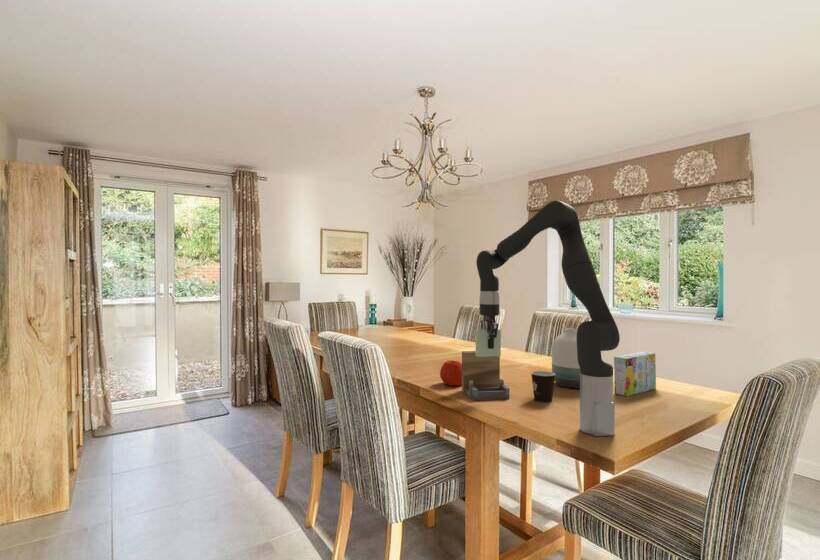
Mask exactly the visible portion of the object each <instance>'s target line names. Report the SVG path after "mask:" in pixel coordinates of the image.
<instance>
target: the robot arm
mask: <svg viewBox="0 0 820 560" xmlns="http://www.w3.org/2000/svg"><path fill="white" fill-rule="evenodd" d="M547 229H554V230H555V231H556V233H557V235H558V237H559V240H560V243H561V245H562V254H561V255H562V257H561V270H562V274H563V278H564V281H565V284H566V286H567V287H568V289H569V291H570V293H572V294H573V295H574V296H575V298H576V299H578V300H579V302H580V303H581V304H582V305H583V306H584V307H585V309H586V310H587V313H588V314H589V318H590V320H586V321H583V322H581V323H580V324H579V325H578V328H577V329H578V330H577V359H578V364H579V366H580V388H579V430H580V431H581V432H583V433H585V434H588V435H592V436H594V437H605V436H606V437H607V436H615V433H616V432H615V428H616V427H615V425H616V421H615V419H616V418H615V417H616V416H615V415H616V413H615V411H616V410H615V409H616V407H615V403H614V367H613V365H611V363H608V362H605V361H604V360H603V359H602V352H606V351H607V352H608V351H613V350H616V349H617V347H618V346H619V344H620V331H619V328H618V326H617V323H616V321H615V319H614V317H613V315H612V312H611V311H610V308H609V306H608V304H607V302H606V299H605V296H604V293H603V292H602V289H601V287H600V283H599V280H598V277H597V274H596V271H595V268H594V265H593V262H592V260H591V257H590V255H589V252H588V247H587V246H586V243H585V242H584V238H583V233H582V230H581V225H580V220H579V217H578V212H577V211H576V209H575V208H574V207H573V206H572V205H570V204H568V203H566V202H563V201H560V200H558V199H557V200H551V201H549V202H548V203H547V204H545V205H544V206H543V207H541V209H539V210H538V211H537V212H536V213H535V214H534V215H533V216H532V217H531V218H529V219H528V221H526V223H524V225H522V226H521V227H520V228H519V229H517V230H516V231H514V232H513V233H512V234H510V235H509V236H507V237H505V238H504V239H503V240H501V241H499V243H498V244H497V246H496V249H494V250H481V251H480V252H479V253H478V254H477V257H476V262H475V263H476V268H477V272H478V273H477V274H478V277H479V280H480V281H479V288H480V289H479V290H480V291H479V309H478V310H479V315H480V316H483V319H481V320H480V325H481V326H480V327H481V329H486V332H487V333H488V348H489V349H493V348H494V339H495V338H496V337H497V331H498V329H499V323H497V320H496V316H499V315H500V284H499V283H500V281H499V277H498V276H496V275H495V274H494V270H497V269H499V268H501V267H502V266H504V264H506V263H507V262H508V261H509V259H510V258H513V257H514V256H515V255H517V254H519V253H521V252H522V251H524V250H525V249H526V248H527V247H528V245H530V243H531V242H532V240H533V239H534V238H535V237H536V236H537V235H538V234H539V233H541V232H544V231H545V230H547ZM492 333H493V334H492Z"/></svg>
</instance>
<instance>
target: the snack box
mask: <svg viewBox="0 0 820 560" xmlns="http://www.w3.org/2000/svg"><path fill="white" fill-rule="evenodd" d="M613 366H614V367H613V381H614V394H615V395H618V396H619V395H620V396H624V397H629V396H632V395H636V394H641V393H644V392H649V391H652V390H656V389H657V379H656V378H657V376H656V373H657V371H656V368H657V367H656V352H651V351H639V352H634V353H628V354H623V355H617V356H614V357H613Z"/></svg>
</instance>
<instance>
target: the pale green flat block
mask: <svg viewBox="0 0 820 560" xmlns="http://www.w3.org/2000/svg"><path fill="white" fill-rule="evenodd" d="M501 332H502V331H501V329H500V328H498V331H497V337H496V338H495V339H494V348H493V349H489V348H488V333H487V332H486V329H482V328H481V329H479V328H478V329H475V351H476V356H477V357H488V356H500V357H501V355H502V354H501V353H502V351H501V348H502V347H501V345H502V341H501V338H502V335H501ZM492 334H493V333H492Z"/></svg>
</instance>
